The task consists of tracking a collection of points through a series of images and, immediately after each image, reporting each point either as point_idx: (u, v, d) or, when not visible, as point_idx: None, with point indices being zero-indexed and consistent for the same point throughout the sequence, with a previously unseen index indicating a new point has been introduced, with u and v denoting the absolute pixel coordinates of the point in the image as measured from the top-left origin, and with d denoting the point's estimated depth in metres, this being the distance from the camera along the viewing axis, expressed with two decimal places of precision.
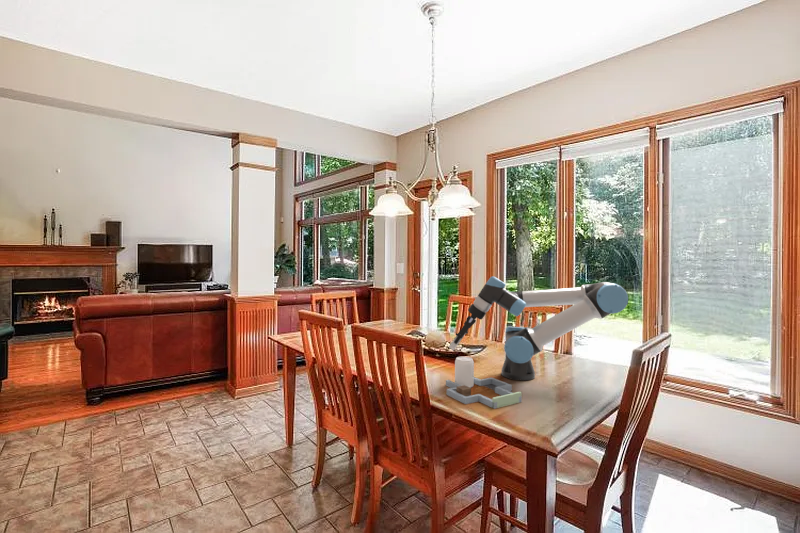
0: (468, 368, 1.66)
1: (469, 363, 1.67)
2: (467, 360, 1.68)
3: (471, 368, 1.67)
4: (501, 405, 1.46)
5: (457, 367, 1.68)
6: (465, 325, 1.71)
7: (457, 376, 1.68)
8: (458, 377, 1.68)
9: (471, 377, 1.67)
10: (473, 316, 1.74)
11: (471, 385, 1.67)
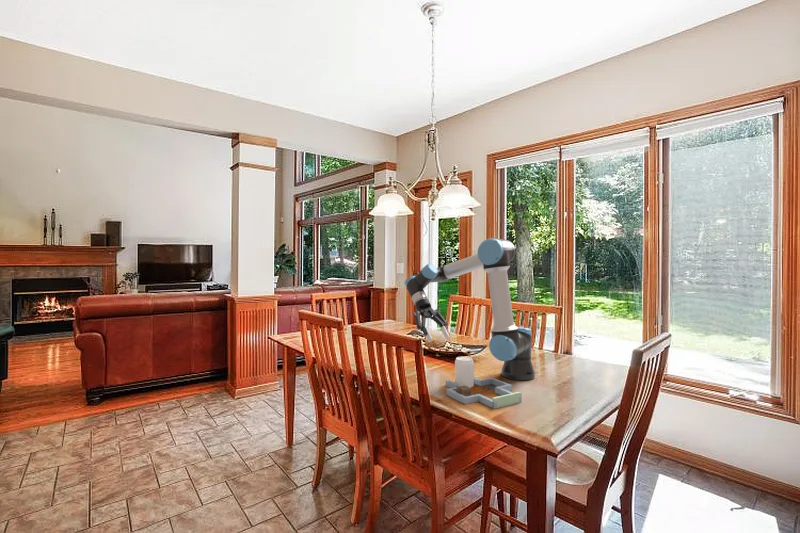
0: (468, 368, 1.66)
1: (469, 363, 1.67)
2: (467, 360, 1.68)
3: (471, 368, 1.67)
4: (501, 405, 1.46)
5: (457, 367, 1.68)
6: (416, 319, 1.91)
7: (457, 376, 1.68)
8: (458, 377, 1.68)
9: (471, 377, 1.67)
10: (418, 309, 1.95)
11: (471, 385, 1.67)
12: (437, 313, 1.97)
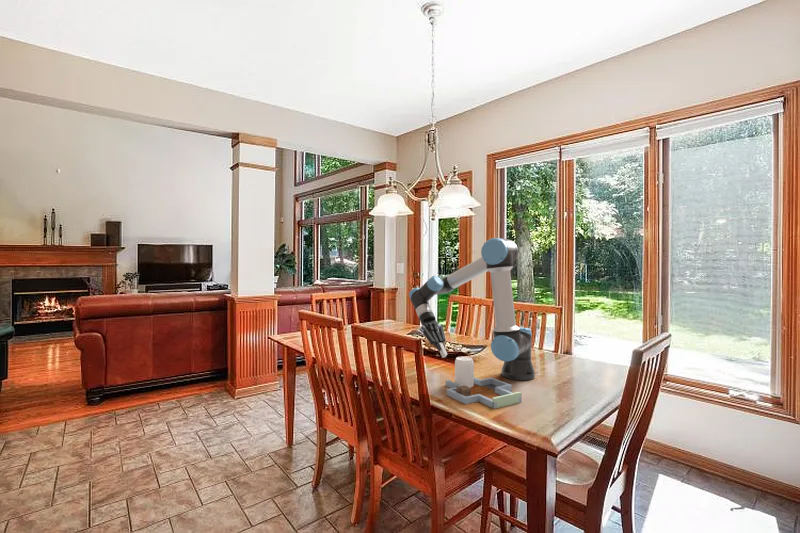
0: (468, 368, 1.66)
1: (469, 363, 1.67)
2: (467, 360, 1.68)
3: (471, 368, 1.67)
4: (501, 405, 1.46)
5: (457, 367, 1.68)
6: (425, 335, 1.87)
7: (457, 376, 1.68)
8: (458, 377, 1.68)
9: (471, 377, 1.67)
10: (422, 322, 1.91)
11: (471, 385, 1.67)
12: (440, 328, 1.92)
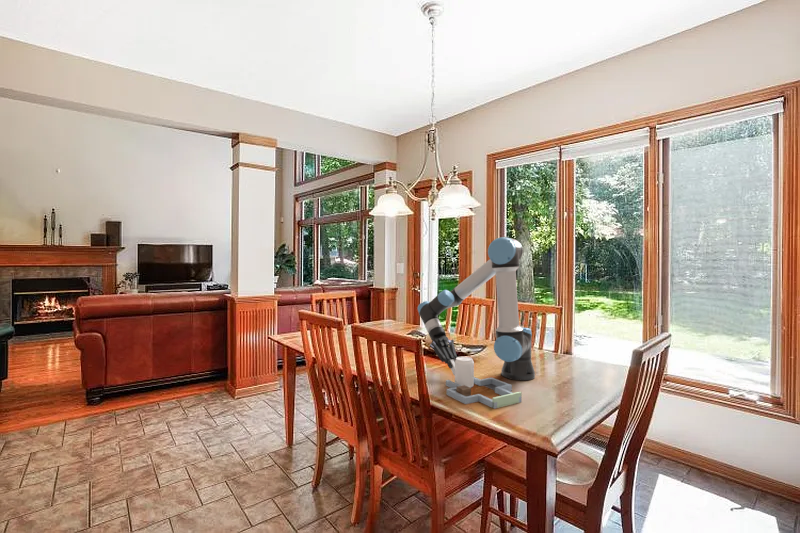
0: (468, 368, 1.66)
1: (469, 363, 1.67)
2: (467, 360, 1.68)
3: (471, 368, 1.67)
4: (501, 405, 1.46)
5: (457, 367, 1.68)
6: (435, 351, 1.80)
7: (457, 376, 1.68)
8: (458, 377, 1.68)
9: (471, 377, 1.67)
10: (432, 338, 1.85)
11: (471, 385, 1.67)
12: (450, 344, 1.85)
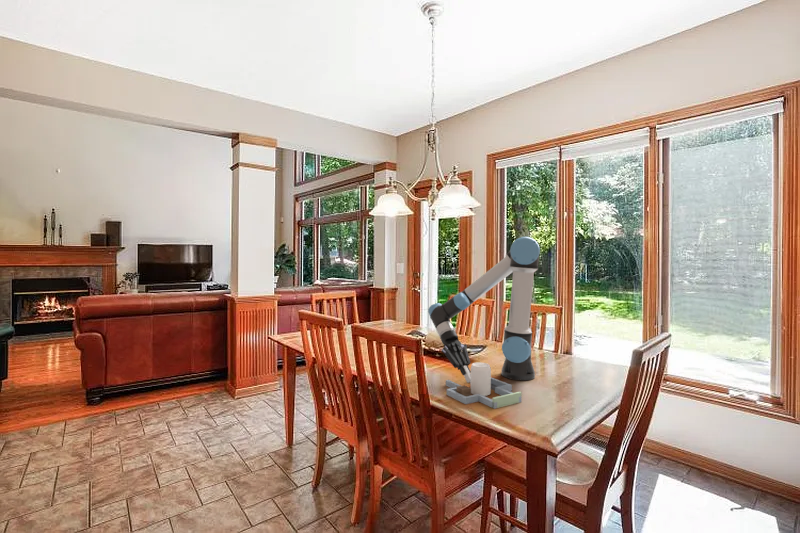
0: (487, 375, 1.57)
1: (488, 369, 1.58)
2: (485, 366, 1.59)
3: (490, 374, 1.58)
4: (501, 405, 1.46)
5: (475, 374, 1.57)
6: (448, 357, 1.70)
7: (475, 384, 1.58)
8: (477, 385, 1.57)
9: (489, 384, 1.58)
10: (444, 342, 1.74)
11: (489, 392, 1.59)
12: (463, 348, 1.75)
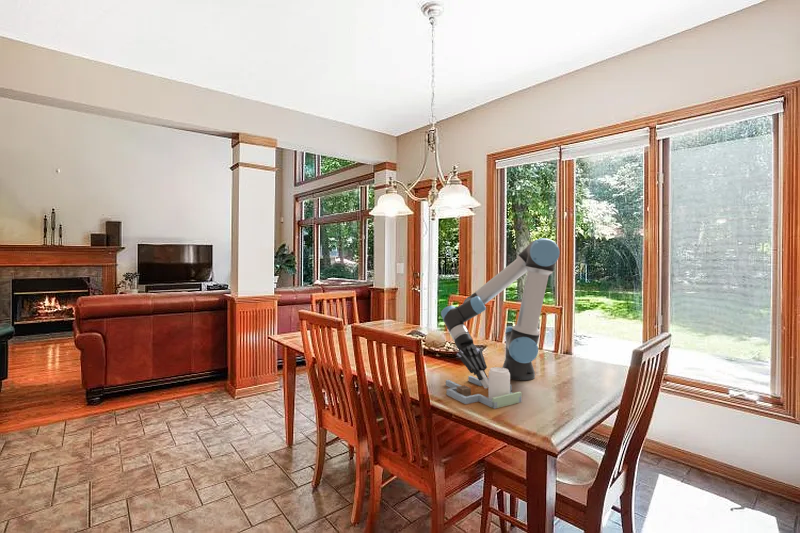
0: (507, 380, 1.50)
1: (508, 374, 1.51)
2: (504, 371, 1.52)
3: (509, 379, 1.52)
4: (501, 405, 1.46)
5: (495, 380, 1.50)
6: (463, 361, 1.63)
7: (495, 390, 1.50)
8: (496, 392, 1.50)
9: (509, 389, 1.52)
10: (459, 346, 1.67)
11: None
12: (479, 353, 1.68)
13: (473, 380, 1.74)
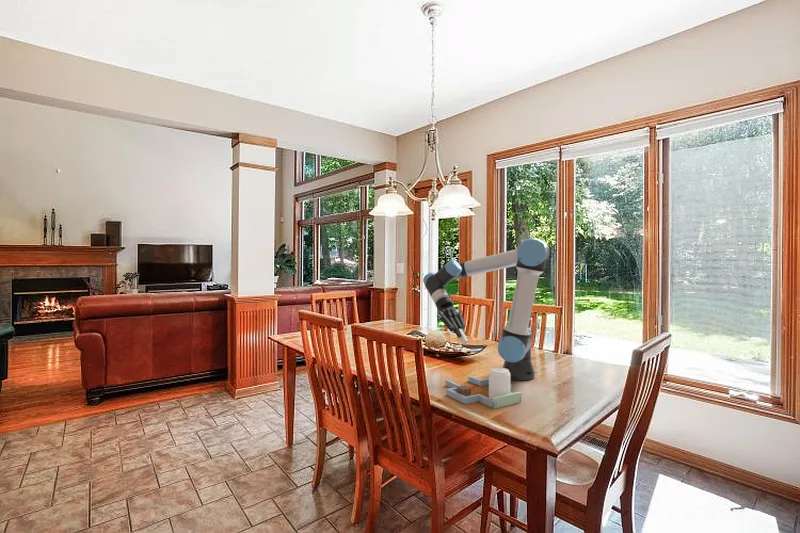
0: (508, 380, 1.50)
1: (508, 374, 1.51)
2: (504, 371, 1.52)
3: (509, 380, 1.51)
4: (501, 405, 1.46)
5: (495, 380, 1.50)
6: (443, 321, 1.75)
7: (495, 390, 1.50)
8: (497, 392, 1.50)
9: (509, 390, 1.52)
10: (439, 308, 1.79)
11: None
12: (458, 314, 1.79)
13: (473, 380, 1.74)
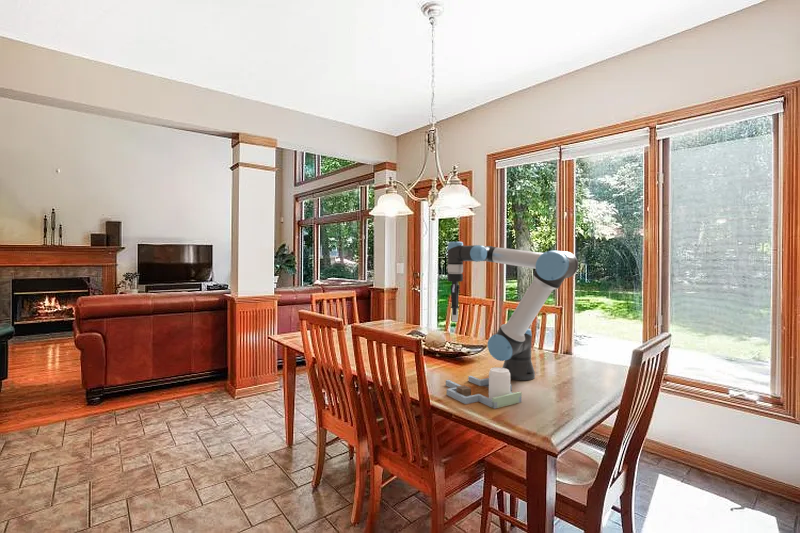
0: (508, 380, 1.50)
1: (508, 374, 1.51)
2: (504, 371, 1.52)
3: (509, 380, 1.51)
4: (501, 405, 1.46)
5: (495, 380, 1.50)
6: (452, 296, 1.88)
7: (495, 390, 1.50)
8: (497, 392, 1.50)
9: (509, 390, 1.52)
10: (454, 282, 1.89)
11: None
12: None
13: (473, 380, 1.74)
